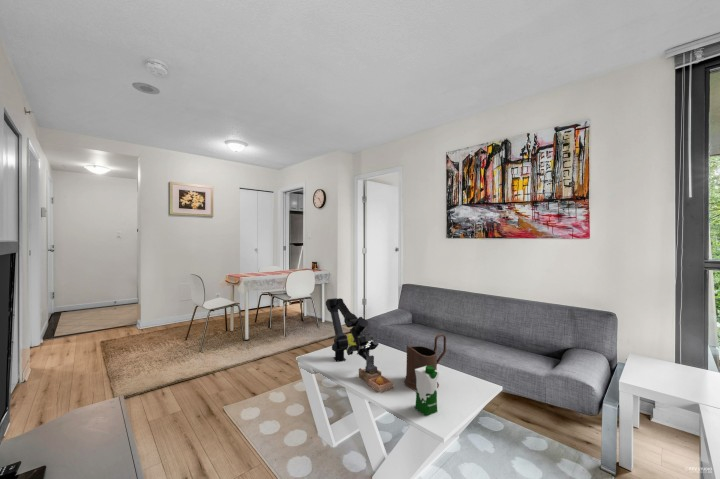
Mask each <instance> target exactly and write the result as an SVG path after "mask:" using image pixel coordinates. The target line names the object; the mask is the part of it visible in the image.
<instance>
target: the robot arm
mask: <svg viewBox="0 0 720 479" xmlns="http://www.w3.org/2000/svg"><path fill="white" fill-rule="evenodd" d="M325 306H326V310H328V312H330V315H331V320H332V326H333V329H334V335H335V336H334V339H333V344H332V345H331V350H332V351H334V352H335V353H334V356H333V357H332V358H333V359H334V360H333V361H334V362H343V361H344V362H345V361H346V358H345V350H346V354H347V355H348V356H350V355H351V356H352V355H353V354H354V352H357V353H356V355H359V356H360V357H361V358H362V359H363V360H365V361H366V357H367V356H370V351H373V350H375V349H376V348H378V346H379V342H378V340H373V339H374V336H373V334H372V333H367V335H365V334H363V332H364V331H365V330H366V328H367V327H368V326H369V322H368V320H367V319H365V318H364V317H363V316H359V317H357V316H356V314H354V313H352V312H351V311H350V309H349V308H348V307H347V305H346V304H345V302H344V299H343V298H341V297H340V298H328V299H326V300H325ZM339 312H340V314H341V315H342V317H343V318H344V320H343V322H344V324H345V326H346V327H347V328H350V329H349V333H350V334H351V335H352V336H353V338H354V341H353V342H354V343H356V345H352V346H351V345H349V344H348V334H349V333H348V334H344V332H343V328H342V324H341V323H342V322H341V318H340V315H339Z"/></svg>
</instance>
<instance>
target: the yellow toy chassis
mask: <svg viewBox="0 0 720 479" xmlns="http://www.w3.org/2000/svg"><path fill="white" fill-rule="evenodd" d="M347 339H348V345H349V346H352V345H356V343H354V342H353V341H354V338H353V336H352V333H351V334H350V333H348V334H347Z"/></svg>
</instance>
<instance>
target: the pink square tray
mask: <svg viewBox="0 0 720 479" xmlns="http://www.w3.org/2000/svg"><path fill="white" fill-rule="evenodd" d="M379 377H381V378H383V380H384V383H383V384H382V385H380V386H379V385H377V383H376V379H377V378H378V377H375V378H372V379H369V380H368V384H367V385H368V386H369V387H370V388H372V389H373V390H375V391H376V392H377V393H383V392H385V391H388V390H391V389H393V388H394V381H392V380H391V379H389V378H387V377H386V376H384V375H381V376H379Z"/></svg>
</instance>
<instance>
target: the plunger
mask: <svg viewBox="0 0 720 479" xmlns="http://www.w3.org/2000/svg"><path fill="white" fill-rule="evenodd" d="M365 361H366V362H365V363H366V364H365V367H364V369H365V371H366V372H367V373H369V374H370V375H371V374H374V373H377V370H378V366H376V365H375V355H369V356H367V357H366V360H365Z"/></svg>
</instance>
